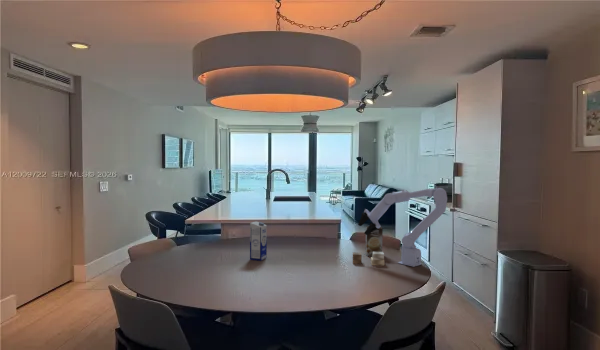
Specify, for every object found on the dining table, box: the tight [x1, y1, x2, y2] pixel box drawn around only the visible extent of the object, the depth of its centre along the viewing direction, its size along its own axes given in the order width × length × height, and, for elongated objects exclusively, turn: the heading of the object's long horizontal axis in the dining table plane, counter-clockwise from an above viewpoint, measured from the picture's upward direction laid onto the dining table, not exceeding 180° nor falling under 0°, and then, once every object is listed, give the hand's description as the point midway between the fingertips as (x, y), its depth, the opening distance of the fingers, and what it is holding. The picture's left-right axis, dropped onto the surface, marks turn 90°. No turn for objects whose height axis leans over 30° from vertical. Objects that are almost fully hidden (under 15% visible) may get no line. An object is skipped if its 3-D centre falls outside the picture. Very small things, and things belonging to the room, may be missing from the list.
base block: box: [370, 256, 385, 267], centre depth 190 cm, size 6×6×3 cm
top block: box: [372, 251, 385, 261], centre depth 190 cm, size 6×6×3 cm
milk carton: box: [249, 221, 268, 262], centre depth 198 cm, size 7×7×20 cm
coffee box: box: [365, 225, 384, 257], centre depth 210 cm, size 9×6×16 cm
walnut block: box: [352, 252, 363, 265], centre depth 192 cm, size 4×4×5 cm
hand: (362, 229), depth 200 cm, fingers open, 7 cm apart
